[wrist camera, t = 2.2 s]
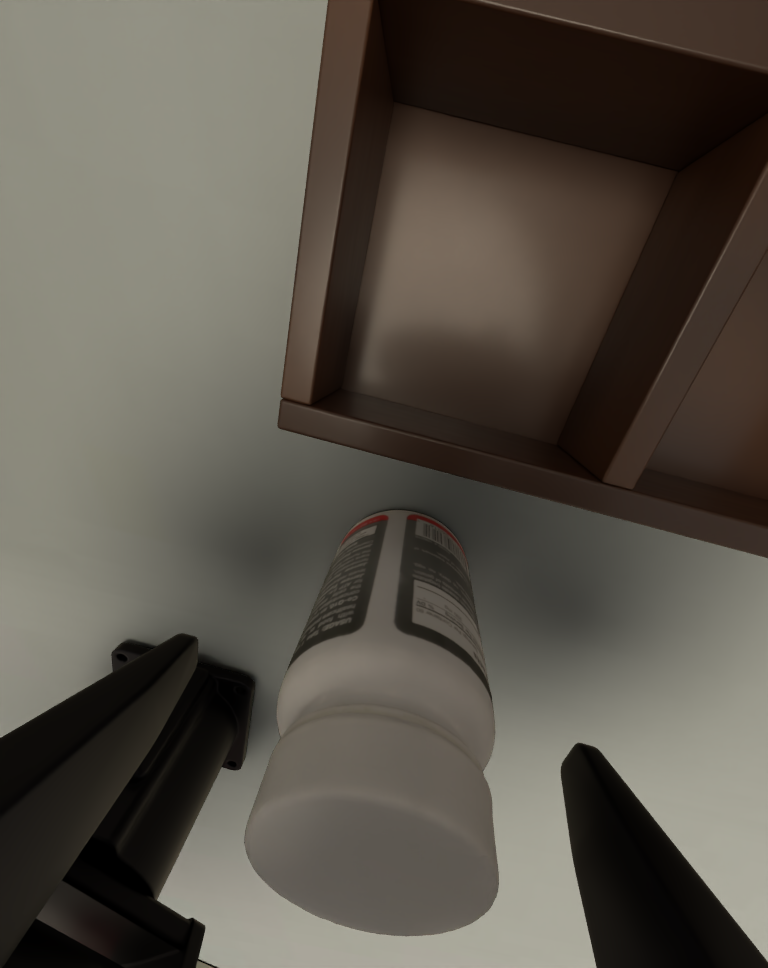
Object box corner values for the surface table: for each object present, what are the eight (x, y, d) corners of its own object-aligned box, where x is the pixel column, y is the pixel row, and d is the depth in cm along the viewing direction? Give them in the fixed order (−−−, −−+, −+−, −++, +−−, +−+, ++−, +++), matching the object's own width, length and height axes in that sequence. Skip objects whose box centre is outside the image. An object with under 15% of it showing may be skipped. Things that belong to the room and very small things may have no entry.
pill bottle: (346, 614, 14) (249, 930, 7) (330, 507, 13) (179, 767, 5) (467, 617, 14) (514, 970, 6) (468, 504, 12) (537, 799, 4)
